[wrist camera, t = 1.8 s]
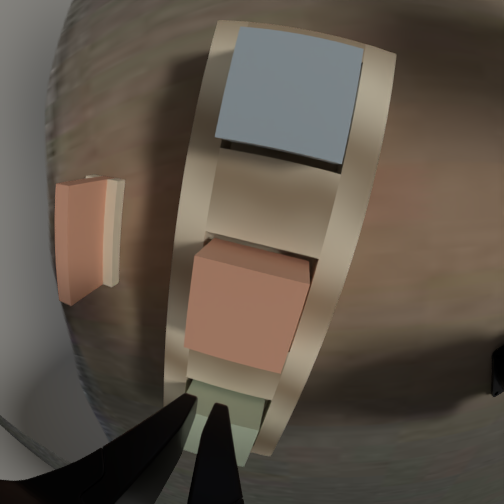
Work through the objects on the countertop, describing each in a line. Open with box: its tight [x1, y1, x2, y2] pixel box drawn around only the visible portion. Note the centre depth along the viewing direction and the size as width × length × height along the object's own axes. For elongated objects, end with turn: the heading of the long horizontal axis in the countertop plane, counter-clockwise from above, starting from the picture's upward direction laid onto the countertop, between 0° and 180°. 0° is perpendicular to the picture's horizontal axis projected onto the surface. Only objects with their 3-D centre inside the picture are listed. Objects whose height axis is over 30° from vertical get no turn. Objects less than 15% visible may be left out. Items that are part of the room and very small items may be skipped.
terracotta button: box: [184, 238, 310, 374], centre depth 15 cm, size 5×5×3 cm
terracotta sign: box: [55, 175, 125, 306], centre depth 18 cm, size 8×3×5 cm, turn 168°
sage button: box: [183, 379, 265, 467], centre depth 18 cm, size 5×5×3 cm
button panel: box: [164, 20, 397, 456], centre depth 17 cm, size 28×9×4 cm, turn 168°
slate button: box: [215, 27, 364, 164], centre depth 11 cm, size 5×5×3 cm
